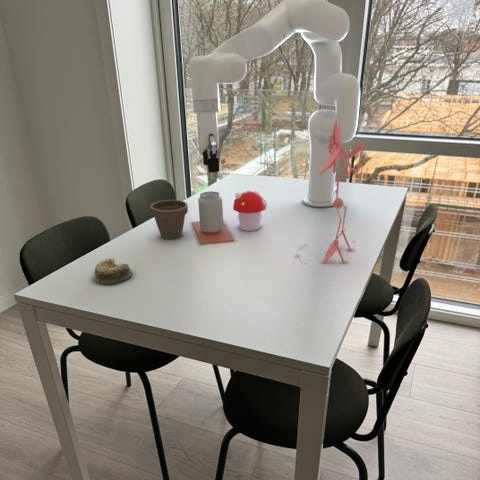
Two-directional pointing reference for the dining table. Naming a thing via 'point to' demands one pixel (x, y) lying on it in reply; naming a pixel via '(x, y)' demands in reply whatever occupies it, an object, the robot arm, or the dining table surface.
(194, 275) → the dining table surface
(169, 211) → the flower pot
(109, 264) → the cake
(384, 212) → the dining table surface
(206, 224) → the can
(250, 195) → the mushroom
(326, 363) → the dining table surface
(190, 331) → the dining table surface
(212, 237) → the napkin
